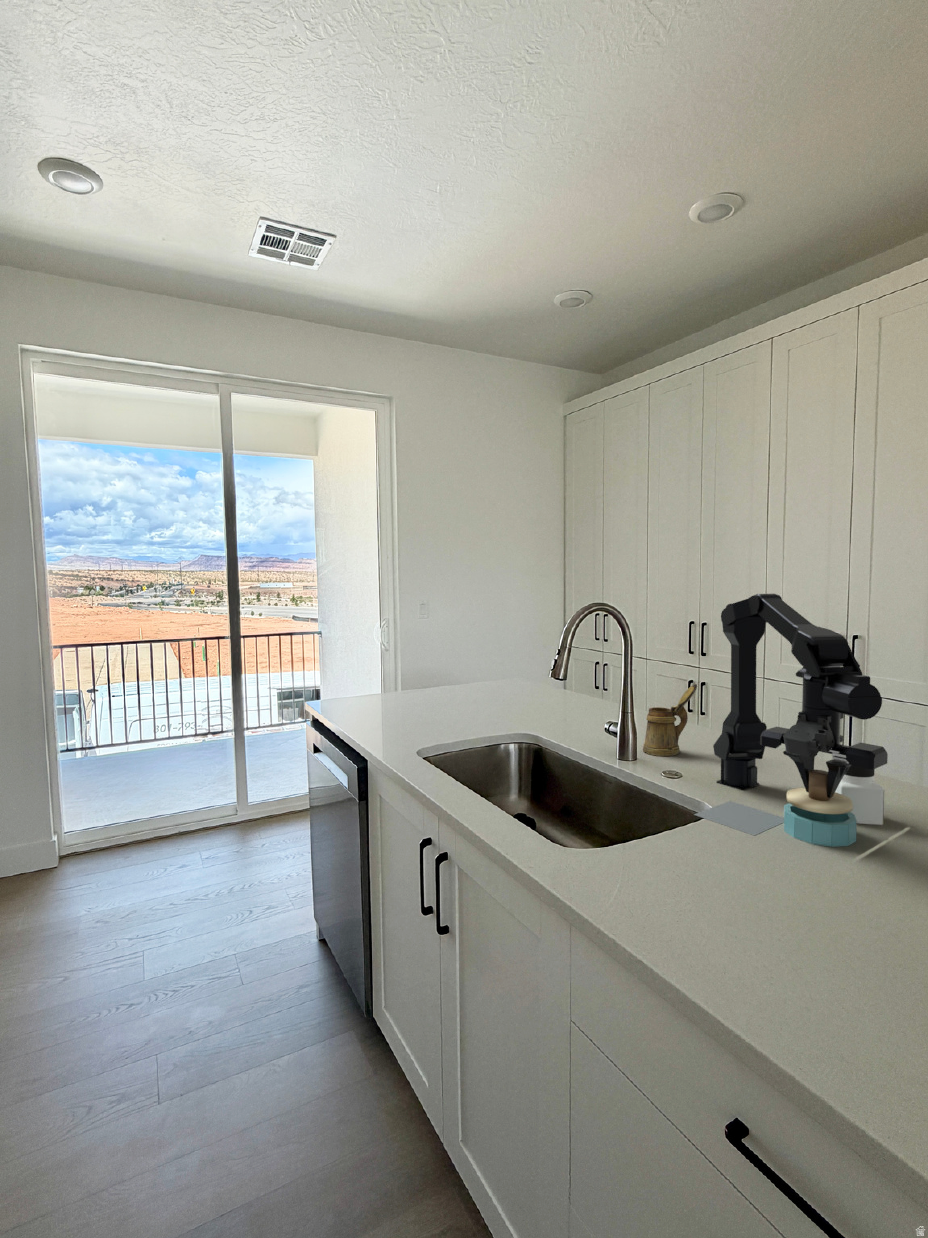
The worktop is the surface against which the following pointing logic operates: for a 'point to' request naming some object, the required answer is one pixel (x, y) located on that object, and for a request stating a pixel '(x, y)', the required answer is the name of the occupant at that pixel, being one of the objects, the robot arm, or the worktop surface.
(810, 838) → the bowl
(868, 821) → the medicine bottle
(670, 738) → the wooden mug
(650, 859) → the worktop surface
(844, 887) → the worktop surface
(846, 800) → the lid
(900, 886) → the worktop surface
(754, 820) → the mat
